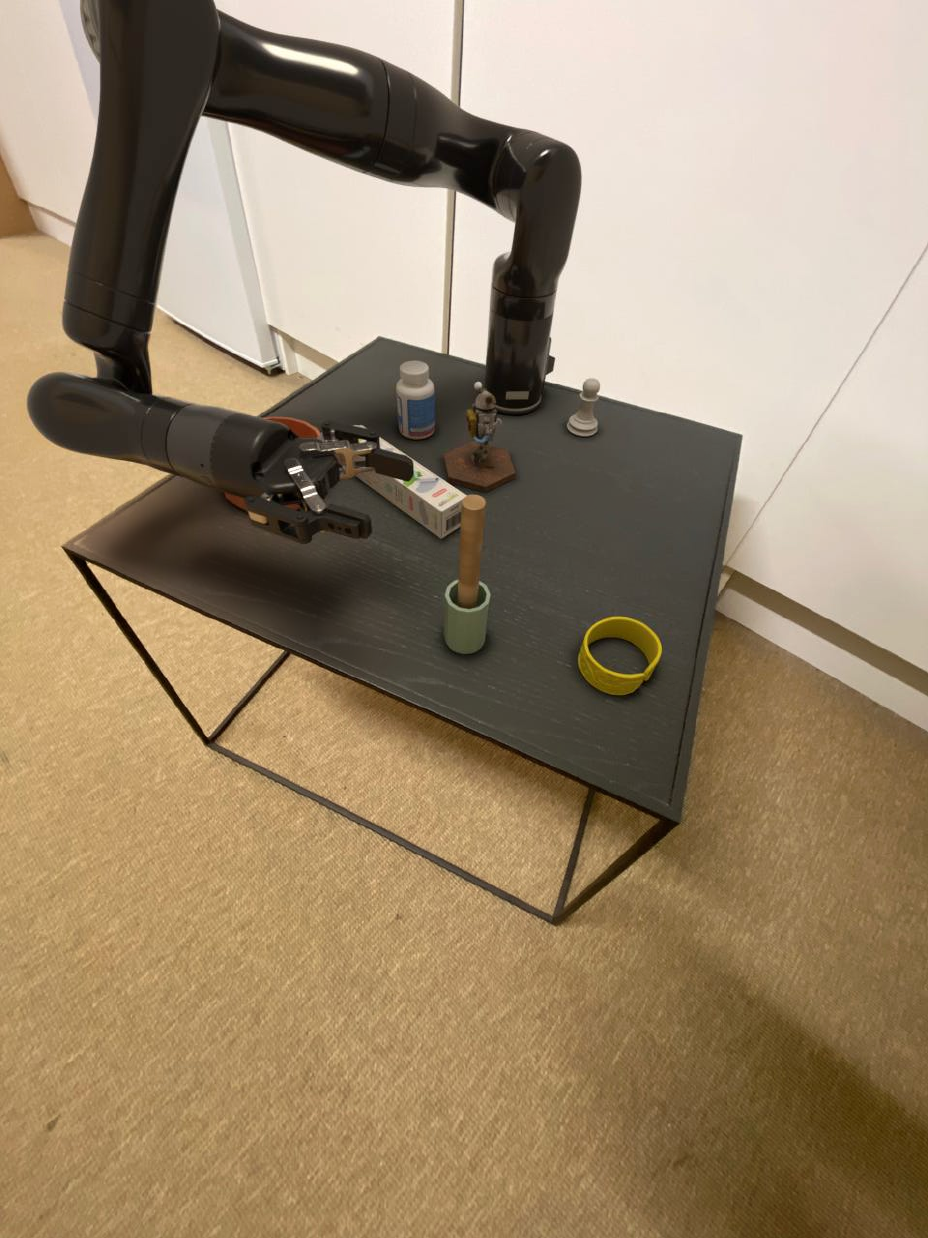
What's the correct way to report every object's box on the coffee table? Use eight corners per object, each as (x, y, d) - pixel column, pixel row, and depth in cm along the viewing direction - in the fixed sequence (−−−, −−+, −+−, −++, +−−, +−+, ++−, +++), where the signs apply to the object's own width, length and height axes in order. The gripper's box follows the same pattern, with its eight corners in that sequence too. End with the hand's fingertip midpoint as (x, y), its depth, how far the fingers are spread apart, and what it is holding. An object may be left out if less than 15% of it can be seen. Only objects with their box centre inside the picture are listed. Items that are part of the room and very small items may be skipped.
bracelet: (563, 661, 59) (568, 642, 57) (611, 623, 63) (618, 604, 60) (617, 707, 56) (626, 690, 54) (665, 665, 60) (675, 646, 57)
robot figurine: (519, 491, 77) (530, 411, 68) (451, 496, 76) (453, 414, 67) (503, 444, 84) (511, 365, 75) (441, 448, 83) (441, 368, 73)
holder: (462, 615, 63) (465, 571, 57) (493, 636, 61) (499, 593, 56) (436, 638, 61) (436, 595, 55) (467, 661, 59) (470, 618, 54)
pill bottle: (441, 428, 86) (442, 365, 79) (421, 444, 83) (419, 381, 76) (412, 416, 88) (410, 354, 80) (391, 432, 85) (387, 369, 77)
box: (441, 539, 71) (309, 442, 82) (466, 523, 73) (334, 430, 85) (441, 511, 67) (303, 414, 79) (467, 495, 69) (329, 403, 81)
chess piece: (602, 434, 87) (615, 384, 80) (575, 439, 85) (586, 389, 79) (587, 418, 89) (598, 368, 83) (561, 423, 88) (570, 373, 82)
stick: (464, 624, 61) (472, 490, 47) (478, 634, 61) (490, 501, 47) (452, 635, 60) (456, 502, 46) (466, 645, 60) (475, 513, 46)
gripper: (169, 461, 46) (348, 513, 42) (268, 379, 54) (423, 418, 51) (199, 531, 52) (359, 581, 48) (284, 447, 60) (425, 485, 57)
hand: (392, 497), depth 50 cm, fingers open, 8 cm apart
